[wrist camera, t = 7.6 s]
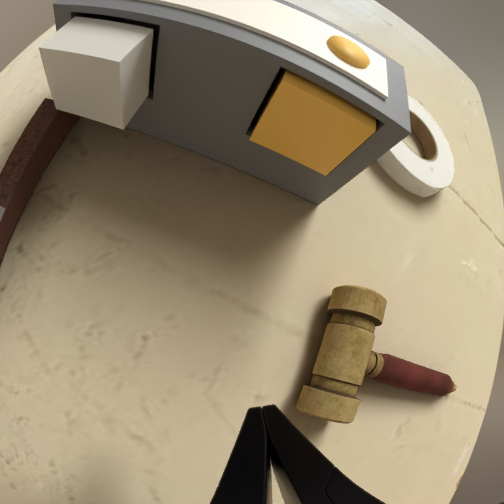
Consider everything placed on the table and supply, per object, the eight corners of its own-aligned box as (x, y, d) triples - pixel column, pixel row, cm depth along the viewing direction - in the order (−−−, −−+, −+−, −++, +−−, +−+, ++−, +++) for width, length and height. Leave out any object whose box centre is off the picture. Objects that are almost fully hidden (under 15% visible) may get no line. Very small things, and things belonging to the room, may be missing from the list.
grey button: (123, 129, 17) (119, 62, 11) (56, 108, 16) (38, 47, 10) (148, 95, 18) (153, 29, 13) (82, 77, 17) (75, 16, 11)
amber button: (325, 175, 21) (375, 131, 15) (249, 140, 19) (282, 80, 14) (332, 141, 22) (376, 96, 16) (262, 107, 21) (294, 51, 15)
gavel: (478, 346, 25) (457, 431, 22) (448, 347, 30) (428, 425, 26) (358, 280, 20) (316, 419, 17) (322, 288, 24) (284, 404, 21)
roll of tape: (335, 93, 32) (346, 79, 29) (406, 100, 37) (417, 90, 34) (393, 208, 29) (411, 198, 27) (454, 190, 35) (468, 182, 32)
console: (318, 205, 26) (416, 128, 14) (73, 111, 21) (52, -2, 10) (331, 141, 29) (406, 63, 17) (118, 59, 24) (122, -42, 12)
